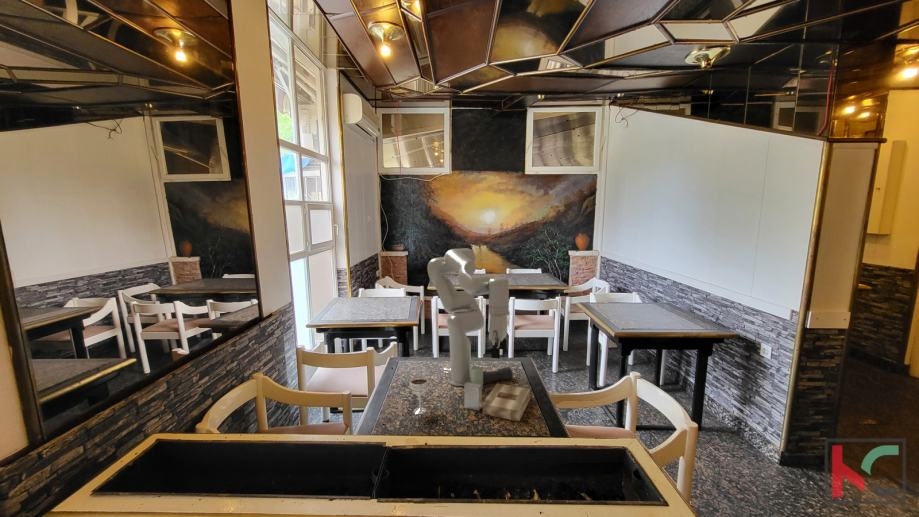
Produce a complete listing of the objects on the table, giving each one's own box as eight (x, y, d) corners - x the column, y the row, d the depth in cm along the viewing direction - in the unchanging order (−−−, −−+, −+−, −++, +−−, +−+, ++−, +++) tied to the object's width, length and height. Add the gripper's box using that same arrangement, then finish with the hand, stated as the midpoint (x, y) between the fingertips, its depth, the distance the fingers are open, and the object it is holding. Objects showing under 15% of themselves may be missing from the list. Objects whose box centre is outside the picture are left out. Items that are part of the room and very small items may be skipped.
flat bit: (464, 407, 131) (464, 385, 131) (467, 404, 134) (467, 382, 133) (479, 410, 129) (478, 388, 128) (481, 407, 132) (481, 384, 131)
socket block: (482, 413, 127) (482, 403, 126) (497, 392, 143) (497, 383, 143) (519, 421, 121) (519, 410, 121) (530, 398, 137) (530, 389, 137)
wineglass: (421, 417, 125) (420, 386, 124) (407, 412, 129) (406, 382, 128) (432, 409, 131) (431, 379, 130) (418, 404, 134) (417, 375, 133)
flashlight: (482, 386, 149) (482, 374, 149) (478, 381, 155) (477, 370, 154) (513, 380, 154) (513, 369, 154) (508, 376, 160) (507, 364, 159)
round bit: (469, 390, 146) (469, 370, 145) (474, 385, 150) (473, 365, 149) (480, 392, 143) (480, 372, 143) (484, 387, 148) (484, 367, 147)
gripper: (495, 304, 138) (495, 345, 140) (482, 314, 122) (483, 360, 124) (513, 305, 135) (513, 347, 137) (502, 316, 119) (502, 363, 121)
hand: (499, 353), depth 130 cm, fingers open, 9 cm apart
